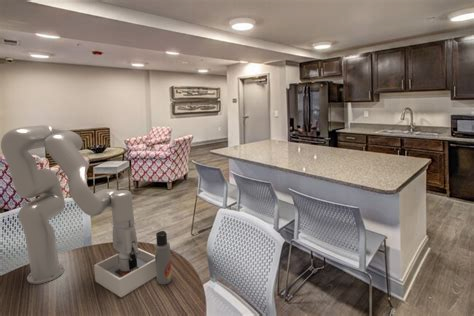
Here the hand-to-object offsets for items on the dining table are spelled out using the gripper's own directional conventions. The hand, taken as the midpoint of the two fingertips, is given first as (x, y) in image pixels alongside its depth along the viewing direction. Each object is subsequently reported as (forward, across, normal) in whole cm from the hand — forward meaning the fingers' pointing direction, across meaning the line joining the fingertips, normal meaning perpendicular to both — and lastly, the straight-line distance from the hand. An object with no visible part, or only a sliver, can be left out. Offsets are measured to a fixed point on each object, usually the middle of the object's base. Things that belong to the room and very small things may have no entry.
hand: (127, 264), depth 114 cm
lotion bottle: (+6, +13, +7) cm, 16 cm away
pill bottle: (+3, 0, 0) cm, 3 cm away
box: (+5, 0, 0) cm, 5 cm away
